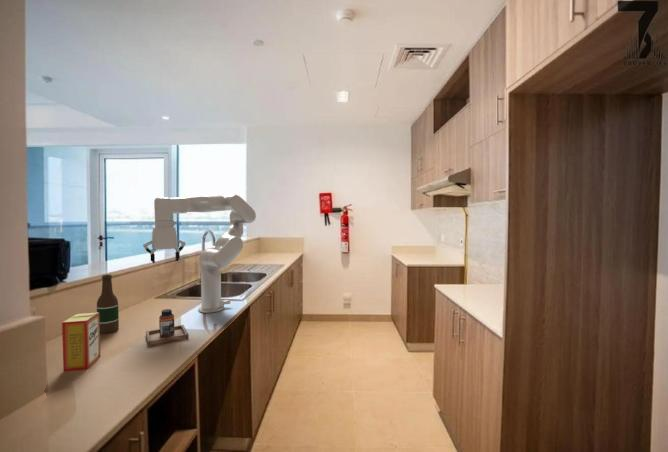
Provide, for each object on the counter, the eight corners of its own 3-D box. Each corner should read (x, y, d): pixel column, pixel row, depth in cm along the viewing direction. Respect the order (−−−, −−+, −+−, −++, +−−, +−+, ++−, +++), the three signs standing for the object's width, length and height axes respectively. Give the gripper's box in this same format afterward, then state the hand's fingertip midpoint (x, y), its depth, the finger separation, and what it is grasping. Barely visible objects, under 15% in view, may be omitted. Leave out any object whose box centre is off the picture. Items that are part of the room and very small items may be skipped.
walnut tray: (183, 329, 138) (183, 324, 138) (188, 338, 128) (188, 333, 128) (145, 335, 131) (145, 331, 131) (148, 346, 120) (148, 341, 120)
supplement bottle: (163, 333, 132) (162, 308, 131) (176, 332, 132) (176, 308, 132) (157, 338, 126) (156, 312, 126) (171, 337, 127) (170, 312, 126)
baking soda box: (87, 368, 103) (86, 319, 102) (63, 371, 101) (62, 321, 100) (100, 356, 112) (99, 311, 111) (78, 358, 110) (77, 312, 110)
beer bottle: (123, 329, 138) (121, 274, 137) (103, 335, 131) (102, 277, 130) (112, 326, 142) (110, 272, 141) (92, 332, 134) (91, 275, 134)
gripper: (183, 223, 155) (184, 259, 155) (141, 224, 145) (143, 262, 145) (186, 224, 148) (187, 260, 149) (143, 225, 138) (144, 264, 139)
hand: (165, 261), depth 147 cm, fingers open, 9 cm apart
